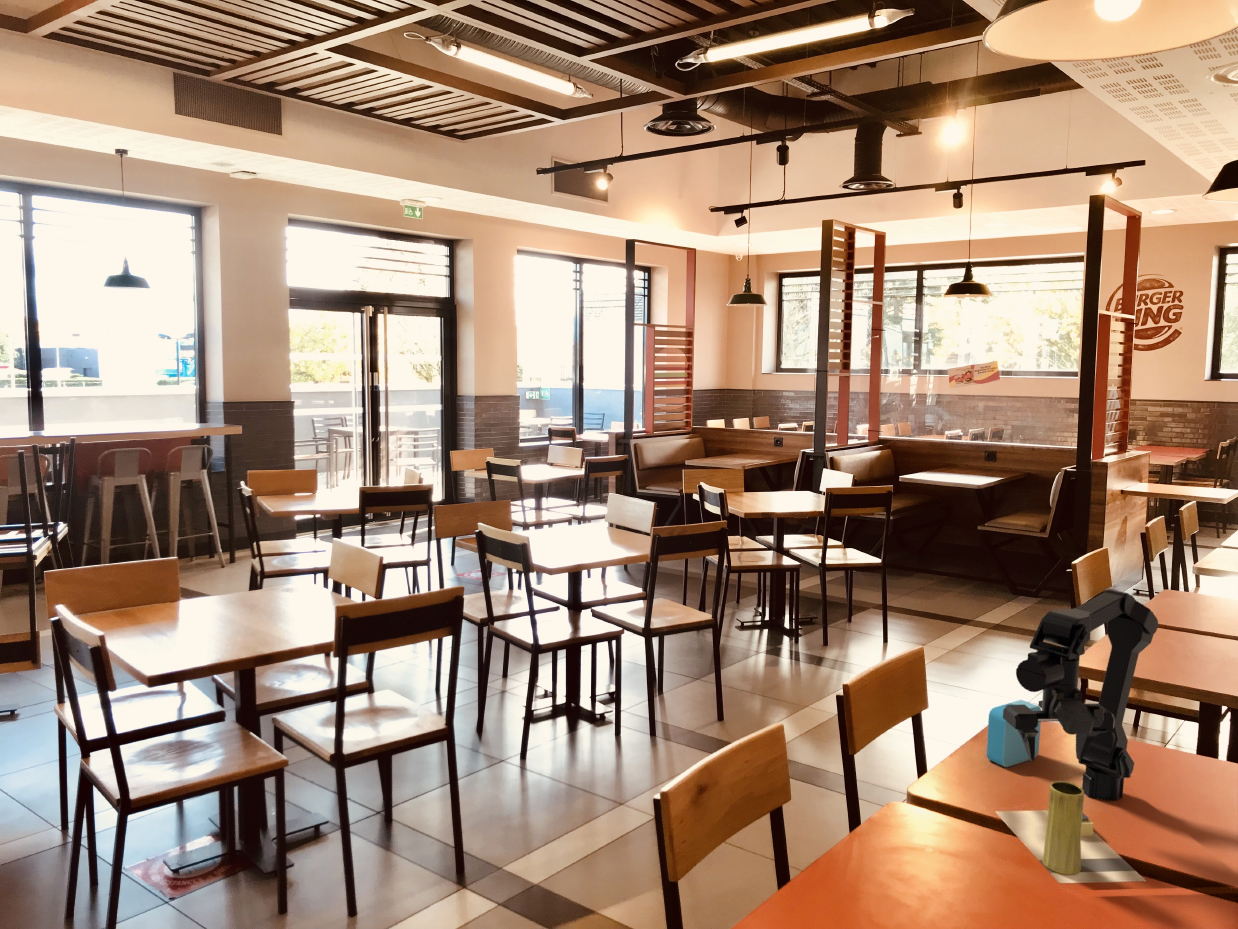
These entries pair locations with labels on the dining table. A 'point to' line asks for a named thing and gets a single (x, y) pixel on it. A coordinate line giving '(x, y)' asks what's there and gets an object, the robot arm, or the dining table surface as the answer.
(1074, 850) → the vase
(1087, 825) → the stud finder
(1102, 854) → the subfloor panel
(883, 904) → the dining table surface
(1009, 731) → the blue rounded block
